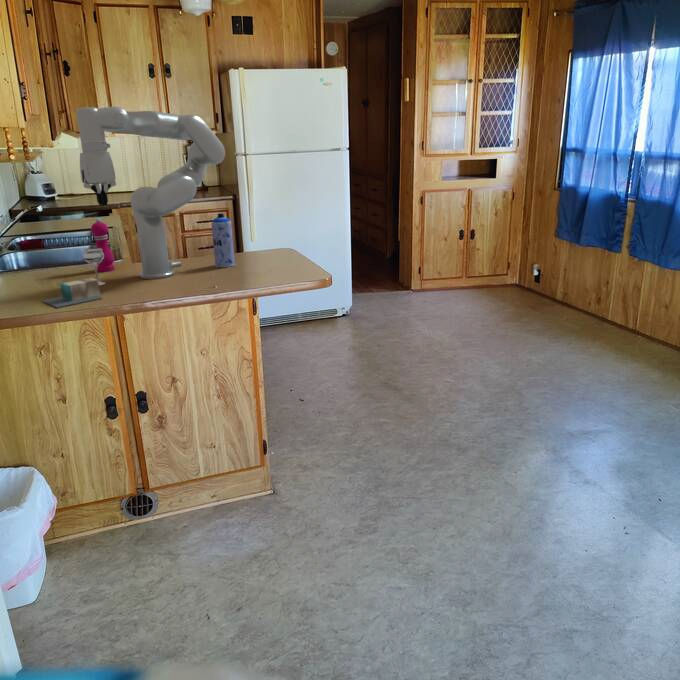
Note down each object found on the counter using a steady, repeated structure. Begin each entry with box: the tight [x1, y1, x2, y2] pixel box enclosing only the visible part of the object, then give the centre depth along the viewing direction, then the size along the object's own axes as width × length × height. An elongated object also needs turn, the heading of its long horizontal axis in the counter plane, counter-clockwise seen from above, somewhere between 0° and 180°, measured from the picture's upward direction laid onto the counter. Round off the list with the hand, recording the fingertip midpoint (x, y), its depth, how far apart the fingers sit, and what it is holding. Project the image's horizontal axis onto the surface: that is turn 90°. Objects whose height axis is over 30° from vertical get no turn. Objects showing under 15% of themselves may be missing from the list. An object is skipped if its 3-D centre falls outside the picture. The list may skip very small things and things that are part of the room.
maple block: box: [59, 277, 101, 302], centre depth 193 cm, size 5×5×10 cm
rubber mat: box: [42, 295, 103, 309], centre depth 192 cm, size 14×12×1 cm
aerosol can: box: [211, 213, 236, 268], centre depth 233 cm, size 8×8×20 cm
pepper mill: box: [90, 217, 115, 273], centre depth 232 cm, size 7×7×20 cm
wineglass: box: [82, 247, 106, 286], centre depth 211 cm, size 7×7×12 cm
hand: (103, 205), depth 204 cm, fingers closed
